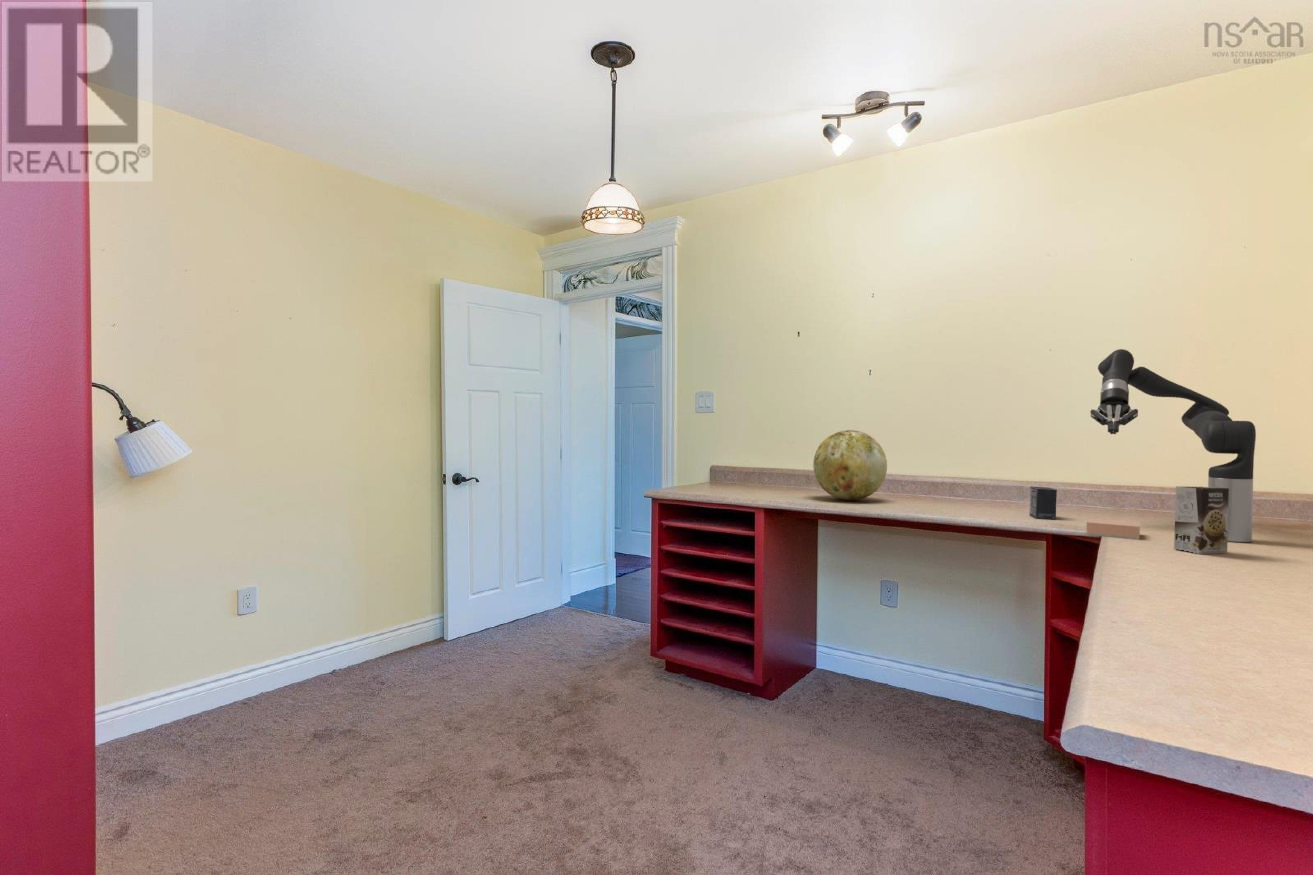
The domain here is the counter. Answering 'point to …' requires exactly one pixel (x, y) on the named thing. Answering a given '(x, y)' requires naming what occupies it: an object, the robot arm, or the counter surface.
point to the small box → (1043, 503)
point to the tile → (1113, 528)
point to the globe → (850, 465)
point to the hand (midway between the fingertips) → (1113, 432)
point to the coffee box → (1201, 519)
